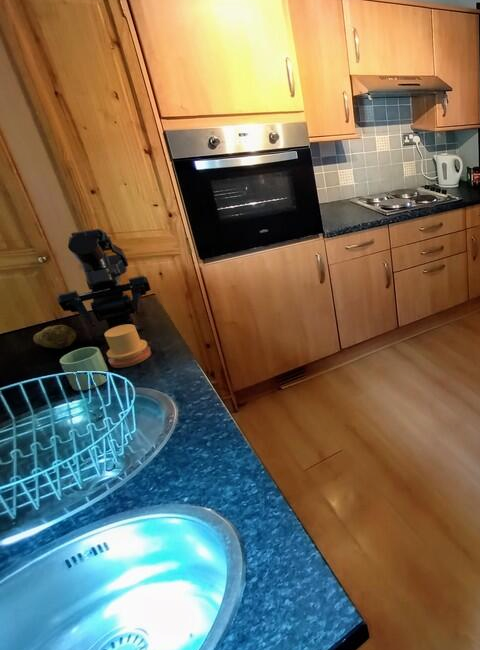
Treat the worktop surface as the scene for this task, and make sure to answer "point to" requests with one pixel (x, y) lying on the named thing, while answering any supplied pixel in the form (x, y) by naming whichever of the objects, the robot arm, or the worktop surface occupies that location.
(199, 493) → the worktop surface
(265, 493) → the worktop surface
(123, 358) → the orange top hat
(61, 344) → the potato
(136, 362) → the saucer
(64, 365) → the pale green cylinder
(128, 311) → the robot arm
